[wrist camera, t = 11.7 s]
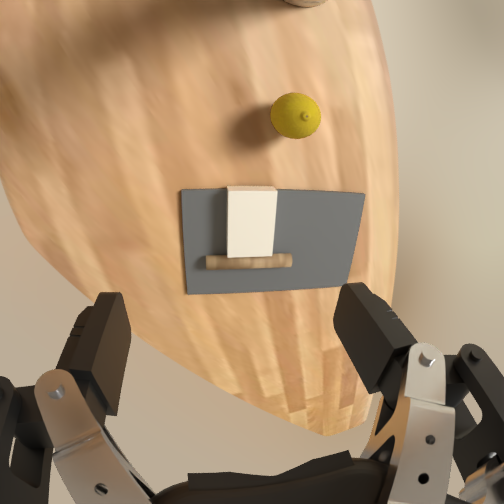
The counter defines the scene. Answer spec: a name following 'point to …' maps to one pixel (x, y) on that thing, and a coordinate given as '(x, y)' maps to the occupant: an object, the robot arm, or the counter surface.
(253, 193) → the tile
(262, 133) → the counter surface
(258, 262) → the dowel
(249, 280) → the mat
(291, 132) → the lemon
